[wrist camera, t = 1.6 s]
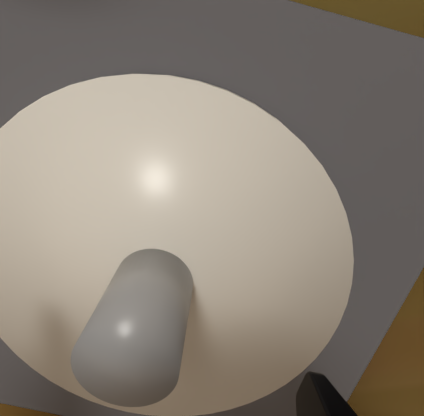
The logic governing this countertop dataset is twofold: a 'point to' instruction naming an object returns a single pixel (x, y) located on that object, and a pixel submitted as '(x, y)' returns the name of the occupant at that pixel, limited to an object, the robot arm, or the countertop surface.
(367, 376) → the countertop surface
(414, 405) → the countertop surface
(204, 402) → the lid
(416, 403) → the countertop surface
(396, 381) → the countertop surface
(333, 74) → the mat
